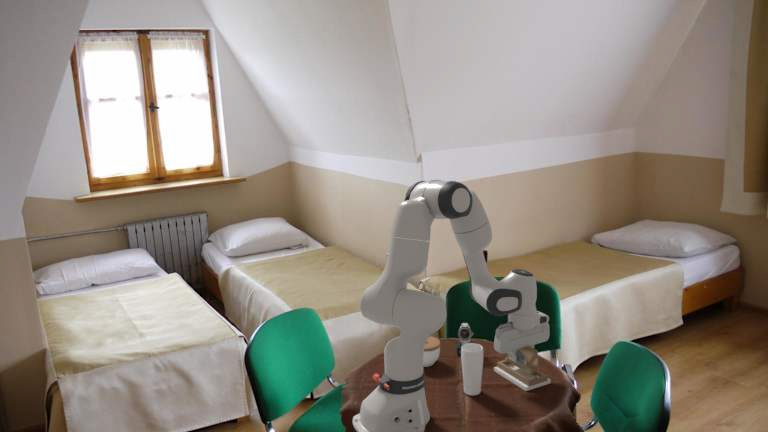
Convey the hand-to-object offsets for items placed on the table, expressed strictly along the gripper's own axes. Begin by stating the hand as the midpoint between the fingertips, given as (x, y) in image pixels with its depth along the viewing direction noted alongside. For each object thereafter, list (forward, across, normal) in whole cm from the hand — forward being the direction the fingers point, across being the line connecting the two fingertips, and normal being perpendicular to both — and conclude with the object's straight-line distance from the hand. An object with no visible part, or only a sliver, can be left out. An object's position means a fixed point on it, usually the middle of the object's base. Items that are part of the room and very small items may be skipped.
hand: (521, 359), depth 197 cm
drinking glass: (+6, -20, 0) cm, 21 cm away
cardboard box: (+2, 0, 0) cm, 2 cm away
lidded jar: (+6, -22, +25) cm, 33 cm away
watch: (+6, -6, +24) cm, 25 cm away
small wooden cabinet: (+6, 0, 0) cm, 6 cm away
